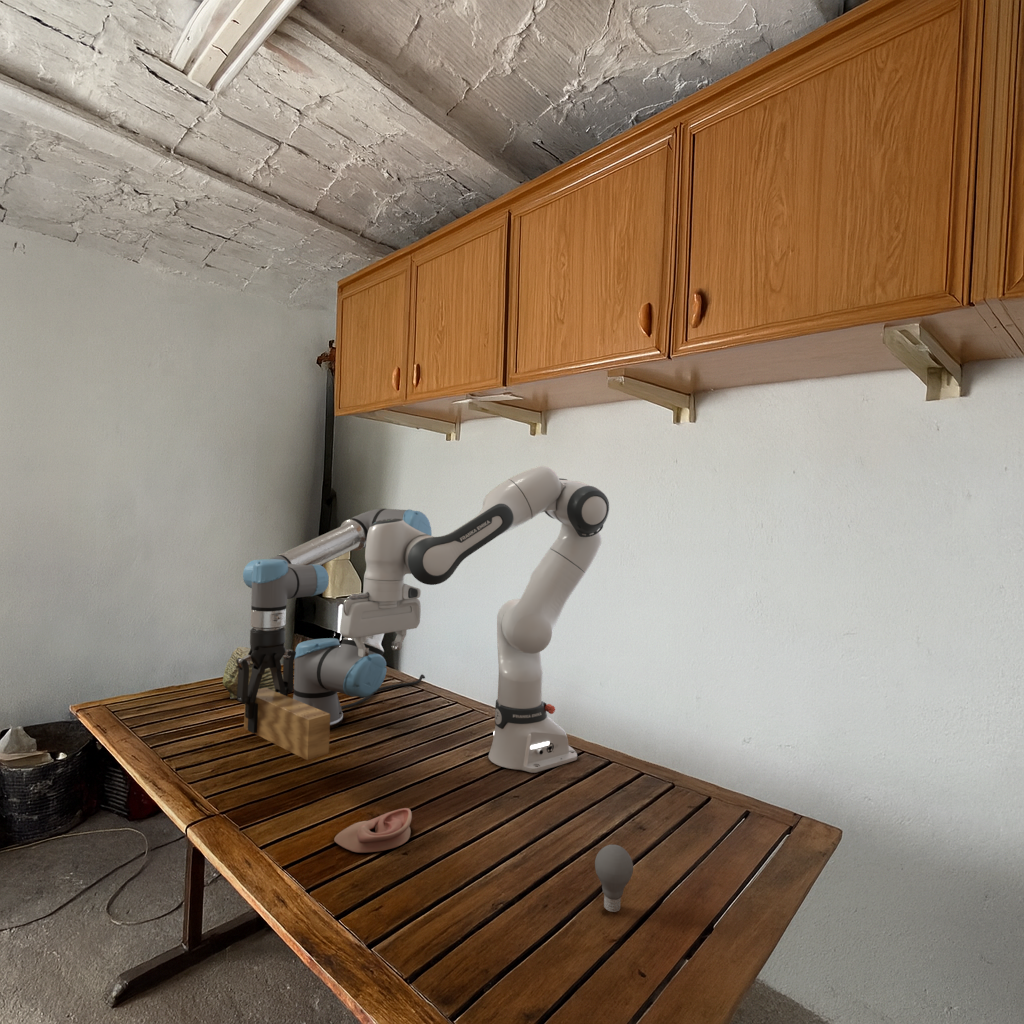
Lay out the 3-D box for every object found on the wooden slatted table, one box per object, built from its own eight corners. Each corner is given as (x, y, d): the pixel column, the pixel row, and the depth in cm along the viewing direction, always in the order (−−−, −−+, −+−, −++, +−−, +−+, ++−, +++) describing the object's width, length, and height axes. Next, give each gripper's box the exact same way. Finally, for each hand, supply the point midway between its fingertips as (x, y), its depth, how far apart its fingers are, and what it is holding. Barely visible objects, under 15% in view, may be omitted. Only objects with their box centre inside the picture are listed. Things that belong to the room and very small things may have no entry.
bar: (243, 728, 146) (245, 692, 146) (264, 722, 150) (266, 687, 150) (307, 760, 130) (308, 719, 130) (328, 753, 134) (330, 713, 134)
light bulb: (589, 897, 103) (592, 837, 103) (625, 897, 104) (628, 837, 104) (597, 922, 97) (600, 857, 97) (635, 921, 98) (638, 857, 98)
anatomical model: (326, 826, 114) (355, 797, 125) (325, 847, 114) (354, 817, 126) (396, 837, 112) (418, 806, 123) (395, 859, 112) (417, 827, 123)
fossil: (218, 695, 195) (220, 647, 195) (278, 685, 208) (279, 640, 207) (228, 703, 189) (230, 653, 188) (289, 692, 201) (290, 645, 201)
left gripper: (238, 635, 135) (234, 743, 136) (312, 624, 149) (308, 722, 150) (220, 630, 140) (217, 734, 140) (294, 619, 154) (291, 714, 155)
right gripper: (354, 596, 131) (350, 663, 131) (426, 589, 147) (423, 648, 147) (335, 592, 135) (332, 657, 135) (407, 586, 151) (404, 643, 151)
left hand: (264, 728), depth 145 cm, fingers closed on bar, 5 cm apart
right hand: (380, 652), depth 141 cm, fingers open, 8 cm apart
